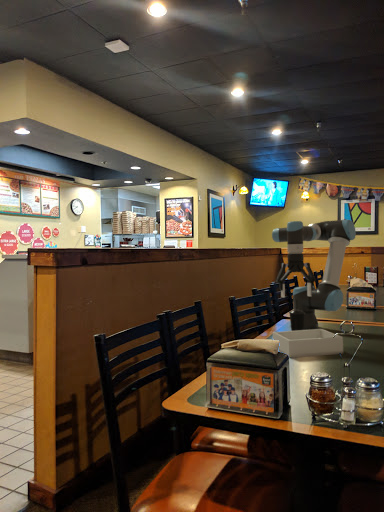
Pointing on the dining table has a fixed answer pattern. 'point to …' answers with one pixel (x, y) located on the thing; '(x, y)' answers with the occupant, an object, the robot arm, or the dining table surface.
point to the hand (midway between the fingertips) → (296, 296)
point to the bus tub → (309, 342)
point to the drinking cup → (297, 319)
